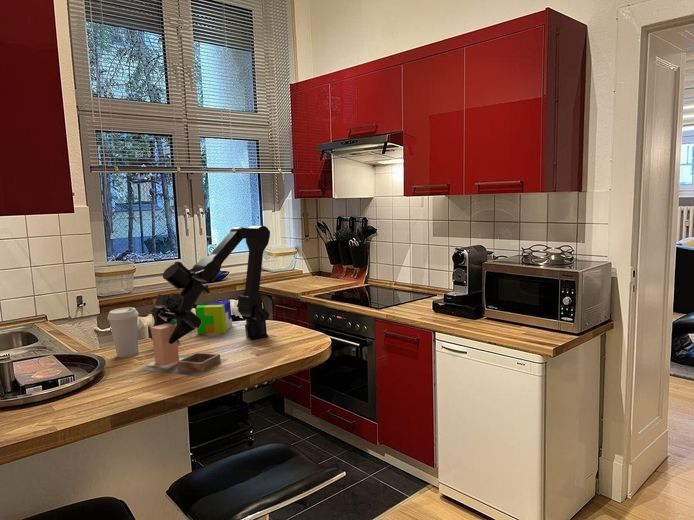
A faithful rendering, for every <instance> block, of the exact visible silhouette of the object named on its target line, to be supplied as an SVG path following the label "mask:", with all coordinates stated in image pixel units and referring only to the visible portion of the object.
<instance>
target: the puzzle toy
mask: <svg viewBox="0 0 694 520" xmlns="http://www.w3.org/2000/svg"><path fill="white" fill-rule="evenodd" d="M194 310H195V311H194V312H195V315H196V316H198V317H199V318H200V319H201V322H202V324H201V325H200V327H199V329H197V328H196V329H197V331H196V332H197V334H200V335H201V334H225V333H226V332H227V331H228V330H229V329H230V328H232V327H233V319H232V318H233V317H232V308H231V301H230V300H217V301H215V300H212V301H211V300H209V301H204V302H202V303H200V304H199V305H197V307H196V309H195V308H194ZM228 328H229V329H228ZM227 329H228V330H227ZM226 330H227V331H226Z"/></svg>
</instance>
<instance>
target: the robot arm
mask: <svg viewBox="0 0 694 520" xmlns="http://www.w3.org/2000/svg"><path fill="white" fill-rule="evenodd" d="M270 237H271V230H269V228H268V227H267V226H266V225H250V226H248V227H243V226H234V227H232V228H231V229H230V231H229V233H227V234H226V236H224V238H223V239H222V241H220V243H218V245H217V246H216V247H215V248H214V250H212V252H211V253H210V254H209V255H207V256H206V257H203V258H202V259H200V260H199V261H198V262H197V263H196V264H194V265H193V267H192V268H187V267H186V266H184V264H183V263H182V262H181V261H175V262H174V263H173V264H171V265H170V266H169V267H168V268H165V269H164V271H163V274H162V278H163V280H165V281H166V282H167V283H169V284H170V285H171V286H173V287H174V288H175V289H177V290H181V291H180V292H179V294H178V293H173V292H172V293H170V295H168V294H161V293H157V297H156V299H155V303H154V304H155V305H156V306H153V307H152V309H151V310H150V314H151V316H152V317H153V320H154V321H153V327H154V326H158V325H162V324H165V323H167V324H169V323H170V322H171V321H172V320H173V319H175V320H177V326H176V328H175V330H174V332H173V333H172V335H171V337H170V340H169V343H170V344H173V343H174V342H175V341H177V342H178V341H179V340H180V339H181V338H182V337H184V336H186V335H187V334H189V333H191V332H193V331H195V330H196V329H199V327H200V325H201V324H202V322H201V319H200V318H199V317H198V316H196V313H194V312H193V311H192V310H193V309H194V310H195V309H196V307H197V306H198V305H197V304H196V303H197V302H198V301H199V299H200V297H201V296H202V294H210V288H209V285H208V284H203V283H202V282H205V283H207V282H209V283H210V282H211V283H212V282H214V281H215V280H216V278H217V277H218V275H219V273H220V272H221V269H222V264H223V263H224V262H225V260H227V258H228V257H229V256H230V255H231V253H232V252H233V251H234V250H235V249H236V248H237V246H239V244H240V243H241V242H242V240H244V239H245V244H246V247H247V248H248V258H247V269H246V279H245V286H244V287H245V289H244V292H243V293H242V295H238V297H237V305H236V307H237V312H238V313H239V314H240V315H241V317H242V319H243V321H245V323H246V324H244V329H245V331H244V332H245V336H246V337H247V338H248V339H249V340H252V341H253V340H257V339H262V338H267V337H269V334H268V333H267V330H268V329H267V321H269V319H270V318H269V317H270V313H269V312H268V311H267V310H266V309H265V308H264V307H263V306H264V304H263V303H264V302H263V299H262V296H261V294H260V287H261V279H262V268H263V258H264V257H263V255H264V252H265V250H266V248H267V247H268V245H269V243H270ZM160 305H161V306H160ZM165 308H166V309H165ZM168 310H169V311H168ZM150 339H151V340H152V333H151V336H150Z"/></svg>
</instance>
